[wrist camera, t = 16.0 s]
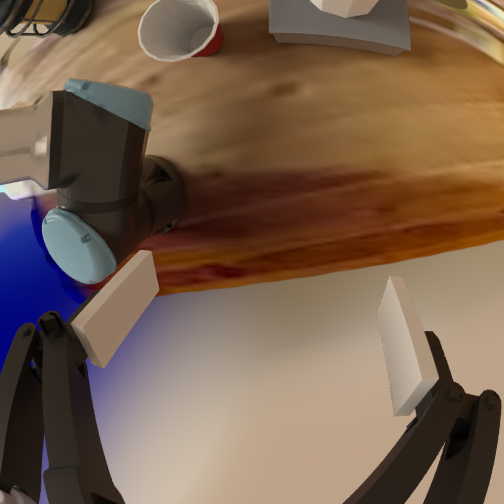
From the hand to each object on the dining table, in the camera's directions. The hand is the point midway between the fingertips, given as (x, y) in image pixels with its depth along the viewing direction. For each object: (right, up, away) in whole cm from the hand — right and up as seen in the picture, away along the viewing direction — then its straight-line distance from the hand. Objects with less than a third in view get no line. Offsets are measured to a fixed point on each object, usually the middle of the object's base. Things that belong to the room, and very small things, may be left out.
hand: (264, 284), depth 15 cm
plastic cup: (-8, +35, +19) cm, 41 cm away
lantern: (-37, +52, +16) cm, 66 cm away
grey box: (+12, +39, +12) cm, 43 cm away
